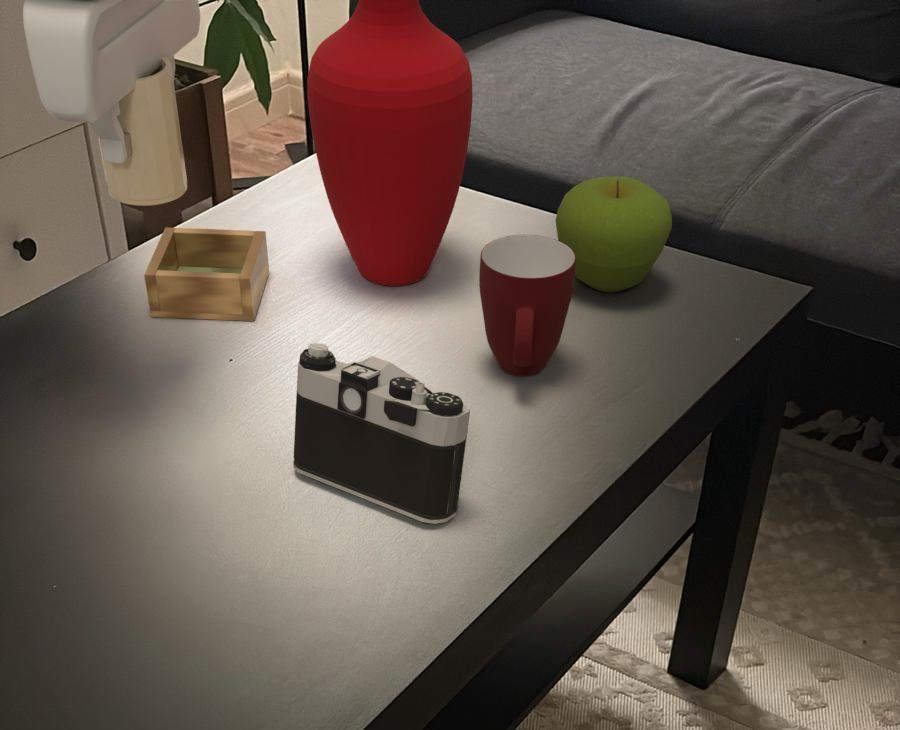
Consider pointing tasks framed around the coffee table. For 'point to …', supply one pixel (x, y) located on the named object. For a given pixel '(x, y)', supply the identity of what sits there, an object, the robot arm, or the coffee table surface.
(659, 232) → the apple
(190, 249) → the open wooden box
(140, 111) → the beige cup
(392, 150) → the vase
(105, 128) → the robot arm
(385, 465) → the camera
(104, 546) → the coffee table surface
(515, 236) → the mug
